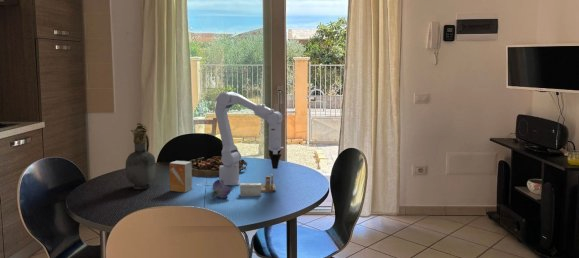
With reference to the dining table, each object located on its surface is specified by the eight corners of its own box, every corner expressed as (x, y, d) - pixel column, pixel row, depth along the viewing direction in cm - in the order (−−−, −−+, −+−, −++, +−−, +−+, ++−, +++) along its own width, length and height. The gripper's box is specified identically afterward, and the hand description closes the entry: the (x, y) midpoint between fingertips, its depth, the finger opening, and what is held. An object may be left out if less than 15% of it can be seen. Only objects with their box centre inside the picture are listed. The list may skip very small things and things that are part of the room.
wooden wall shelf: (246, 192, 220) (246, 179, 219) (247, 185, 230) (247, 173, 230) (275, 191, 220) (275, 179, 219) (275, 185, 231) (275, 173, 230)
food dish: (232, 163, 287) (232, 150, 286) (258, 175, 259) (258, 161, 258) (173, 167, 269) (174, 153, 268) (195, 181, 241) (195, 166, 240)
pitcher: (123, 191, 219) (121, 125, 214) (138, 181, 238) (136, 120, 233) (147, 192, 218) (145, 125, 214) (160, 181, 237) (158, 120, 233)
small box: (169, 191, 220) (168, 162, 218) (176, 187, 226) (176, 160, 224) (185, 192, 218) (184, 164, 216) (192, 189, 224) (191, 161, 222)
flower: (215, 188, 201) (224, 174, 209) (201, 193, 206) (211, 179, 213) (228, 203, 204) (237, 189, 212) (214, 208, 209) (223, 194, 216)
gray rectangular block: (240, 196, 213) (240, 185, 213) (240, 194, 217) (240, 183, 216) (260, 196, 214) (260, 185, 213) (261, 193, 217) (260, 183, 216)
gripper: (284, 140, 217) (284, 170, 219) (282, 135, 232) (282, 163, 234) (268, 140, 217) (268, 170, 219) (268, 135, 231) (267, 163, 233)
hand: (274, 166), depth 226 cm, fingers open, 7 cm apart
